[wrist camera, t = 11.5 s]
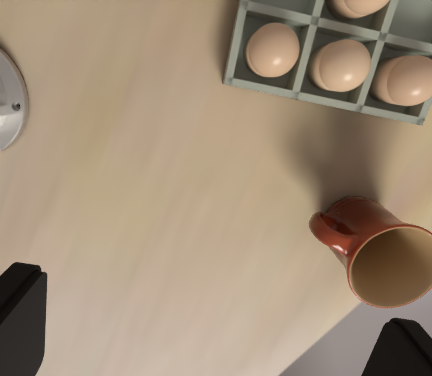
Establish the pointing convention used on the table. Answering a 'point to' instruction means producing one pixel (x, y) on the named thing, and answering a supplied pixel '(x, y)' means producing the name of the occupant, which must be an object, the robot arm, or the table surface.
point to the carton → (336, 56)
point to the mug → (377, 251)
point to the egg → (353, 8)
